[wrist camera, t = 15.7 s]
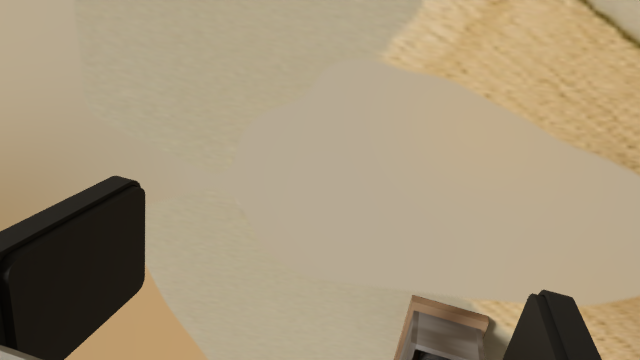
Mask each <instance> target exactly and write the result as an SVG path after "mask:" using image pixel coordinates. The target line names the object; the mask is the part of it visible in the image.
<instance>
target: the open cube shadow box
mask: <svg viewBox="0 0 640 360" xmlns="http://www.w3.org/2000/svg"><path fill="white" fill-rule="evenodd" d="M488 324H489V321H488V316H485V315H481V314H478V313H474V312H471V311H467V310H464V309H460V308H457V307H453V306H449V305H446V304H442V303H439V302H435V301H432V300H428V299H425V298H421V297H418V296H414V295H412V299H411V302H410V305H409V309H408V312H407V316H406V319H405V323H404V326H403V330H402V333H401V337H400V340H399V344H398V347H397V350H396V354H395V357H394V360H418V351H419V350H421V351H425V352H428V353H431V354H435V355H438V356H441V357H445V358H448V359H451V360H485V355H484V347H483V337H484V334H485V332H486V329H487V327H488Z"/></svg>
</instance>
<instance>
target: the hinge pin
mask: <svg viewBox="0 0 640 360" xmlns="http://www.w3.org/2000/svg"><path fill="white" fill-rule="evenodd" d="M418 360H451V359H448V358H445V357H441V356H438V355H435V354H431V353H428V352H425V351H421V350H419V351H418Z"/></svg>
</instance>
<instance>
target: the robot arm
mask: <svg viewBox="0 0 640 360" xmlns="http://www.w3.org/2000/svg"><path fill="white" fill-rule="evenodd" d="M144 277H145V192H144V190H143V189H142V188H141V187H140V184H139V183H138V182H137V181H134V180H131V179H127V178H122V177H119V176H112V177H110V178H108V179H106V180H104V181H102V182H100V183H98V184H96V185H94V186H92V187H90V188H88V189H86V190H84V191H82V192H80V193H78V194H76V195H73V196H72V197H69V198H67V199H65V200H63V201H61V202H59V203H57V204H55V205H54V206H51V207H49V208H47V209H45V210H43V211H41V212H39V213H37V214H35V215H33V216H31V217H29V218H27V219H25V220H23V221H21V222H19V223H17V224H15V225H13V226H11V227H9V228H7V229H5V230H3V231H1V232H0V360H64V359H65V358H66V357H67V356H69V355H70V354H71V352H73V351H74V350H75V349H76V348H77V347H78V346H79V345H81V344H82V343H83V342H84V341H85V340H86V339H87V338H88V337H89V336H90V335H91V334H93V333H94V332H95V331H96V330H97V329H98V328H99V327H100V326H101V325H102V324H103V323H105V322H106V321H107V320H108V319H109V318H110V317H111V316H112V315H113V314H114V313H116V312H117V311H118V310H119V309H120V308H121V307H122V306H123V305H124V304H125V303H126V302H128V301H129V300H130V299H131V298H132V297H133V296H134V295H135V294H136V293H137V292H138V291H139V290H140V289H141V287H142V285H143V282H144ZM503 360H602V359H601V357H600V355H599V353H598V351H597V348H596V346H595V344H594V342H593V340H592V338H591V335H590V333H589V331H588V329H587V327H586V325H585V322H584V320H583V318H582V316H581V314H580V312H579V310H578V307H577V305H576V303H575V301H574V299H573V298H572V297H569V296H566V295H561V294H558V293H554V292H550V291H546V290H542V291H541V292H540V293H539V294H538V295H536V294H531V295H530V296H529V298H528V299H527V302H526V304H525V307H524V309H523V311H522V314H521V316H520V319H519V321H518V324H517V326H516V328H515V331H514V333H513V336H512V338H511V341H510V343H509V345H508V348H507V350H506V353H505V355H504V358H503Z"/></svg>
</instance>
